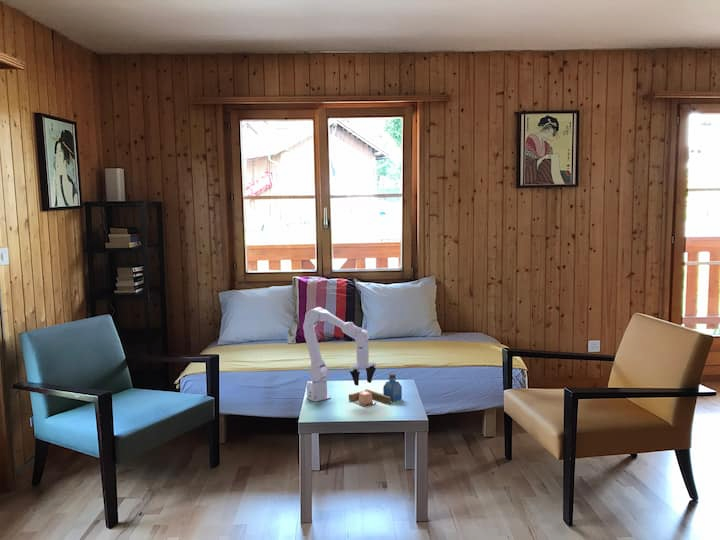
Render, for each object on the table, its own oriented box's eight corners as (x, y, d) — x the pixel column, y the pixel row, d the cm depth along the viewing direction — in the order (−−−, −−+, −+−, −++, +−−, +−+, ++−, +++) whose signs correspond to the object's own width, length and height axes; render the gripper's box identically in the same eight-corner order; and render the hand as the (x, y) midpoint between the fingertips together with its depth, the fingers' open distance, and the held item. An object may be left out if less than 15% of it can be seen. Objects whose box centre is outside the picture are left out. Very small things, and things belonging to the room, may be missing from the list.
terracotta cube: (358, 402, 293) (358, 392, 293) (366, 400, 296) (366, 391, 295) (364, 404, 289) (364, 394, 289) (372, 402, 292) (372, 393, 291)
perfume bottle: (392, 396, 302) (392, 372, 301) (401, 399, 298) (401, 374, 297) (383, 399, 298) (383, 375, 297) (392, 402, 293) (392, 377, 292)
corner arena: (369, 408, 284) (369, 402, 283) (346, 400, 298) (346, 394, 298) (390, 403, 291) (390, 397, 291) (367, 395, 306) (367, 389, 305)
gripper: (355, 359, 286) (355, 388, 287) (379, 354, 295) (380, 382, 296) (346, 356, 292) (346, 385, 293) (370, 352, 300) (371, 379, 301)
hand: (362, 383), depth 295 cm, fingers open, 7 cm apart
